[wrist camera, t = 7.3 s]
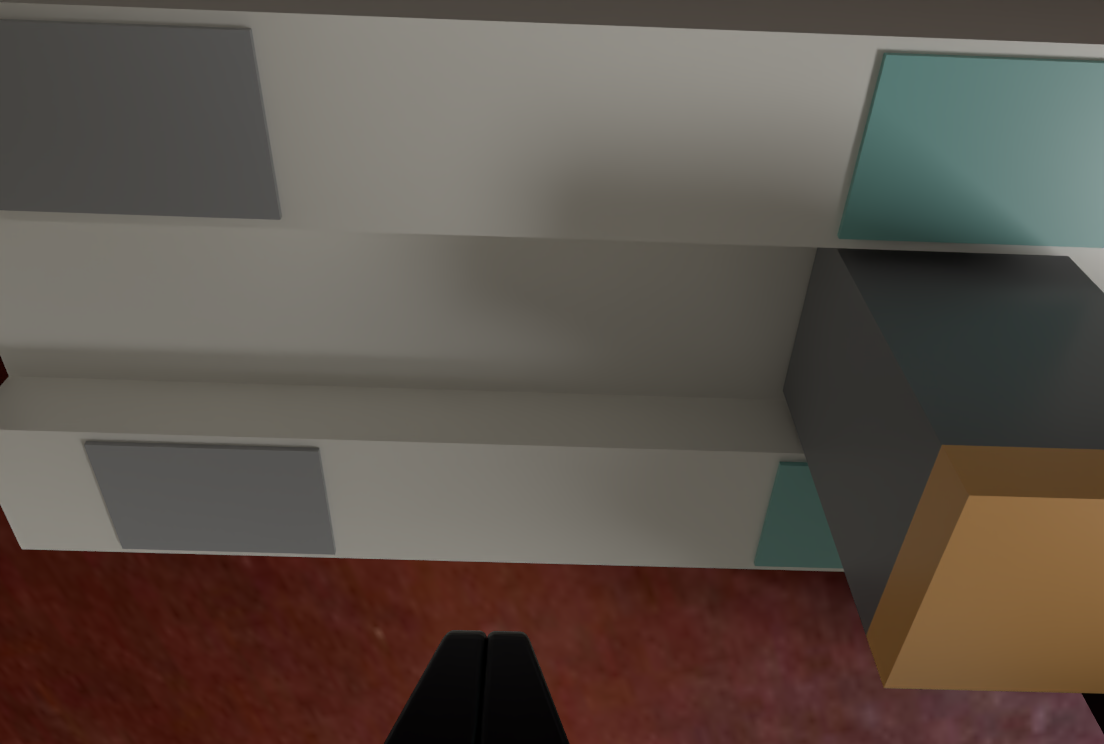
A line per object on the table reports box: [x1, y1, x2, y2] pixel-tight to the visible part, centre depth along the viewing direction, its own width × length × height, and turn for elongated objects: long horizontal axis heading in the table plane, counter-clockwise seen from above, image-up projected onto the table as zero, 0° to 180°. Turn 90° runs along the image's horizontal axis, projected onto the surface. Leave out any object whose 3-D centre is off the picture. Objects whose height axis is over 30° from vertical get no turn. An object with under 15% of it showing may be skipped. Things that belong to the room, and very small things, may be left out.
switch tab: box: [783, 247, 1104, 694], centre depth 13 cm, size 4×3×6 cm
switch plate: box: [0, 0, 1104, 572], centre depth 15 cm, size 20×10×3 cm, turn 88°
